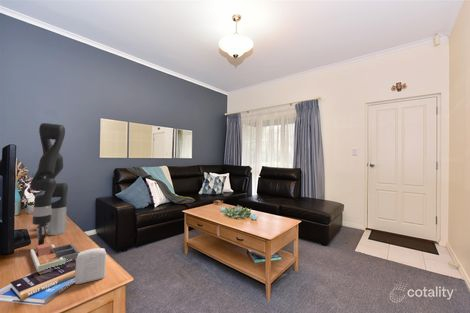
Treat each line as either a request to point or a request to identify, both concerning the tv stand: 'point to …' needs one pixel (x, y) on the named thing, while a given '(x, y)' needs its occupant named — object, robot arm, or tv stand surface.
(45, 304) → the tv stand surface
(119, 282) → the tv stand surface
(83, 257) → the photo printer
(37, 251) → the red block
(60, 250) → the box
